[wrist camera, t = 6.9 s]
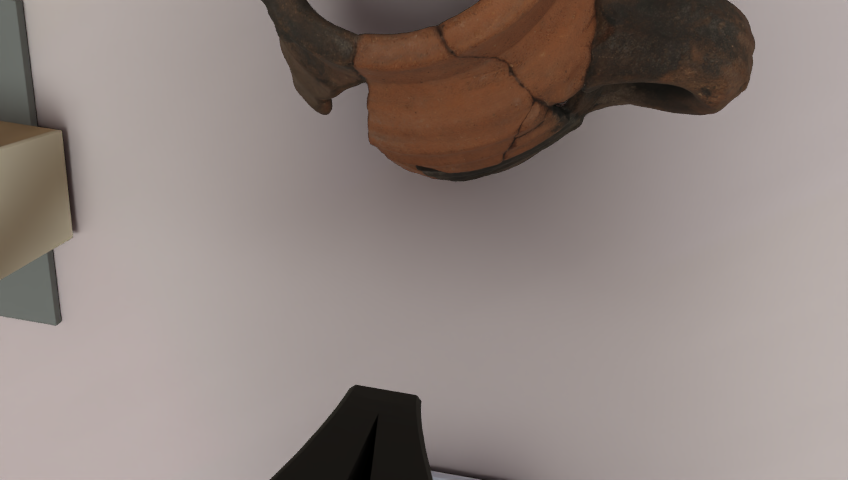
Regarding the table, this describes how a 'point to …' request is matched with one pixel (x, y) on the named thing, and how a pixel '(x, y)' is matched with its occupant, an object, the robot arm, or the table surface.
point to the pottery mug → (517, 73)
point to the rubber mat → (14, 102)
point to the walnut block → (31, 194)
